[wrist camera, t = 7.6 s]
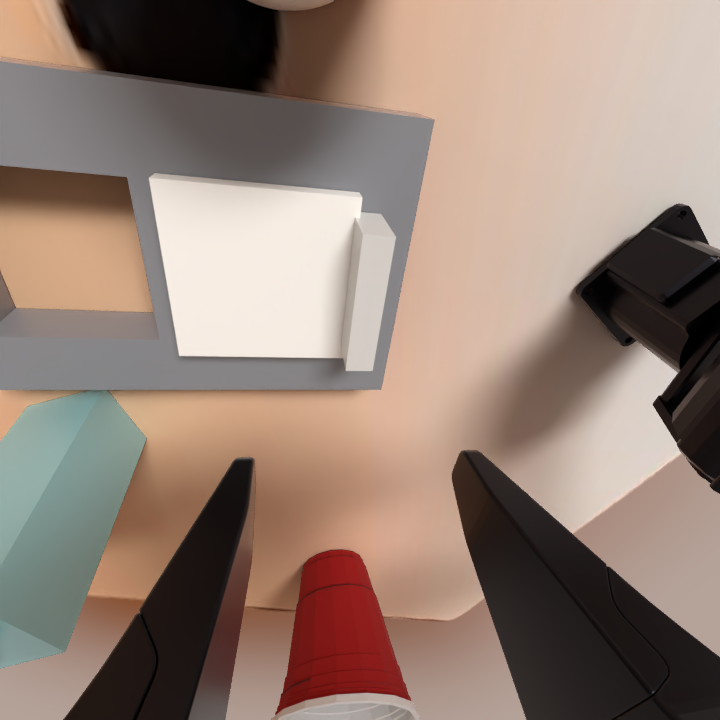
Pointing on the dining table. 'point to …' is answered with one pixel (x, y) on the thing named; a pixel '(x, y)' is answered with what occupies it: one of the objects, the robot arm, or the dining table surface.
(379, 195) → the socket plate
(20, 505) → the teal rectangular bottle
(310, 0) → the teacup with lid
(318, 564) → the plastic cup
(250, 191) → the panel
